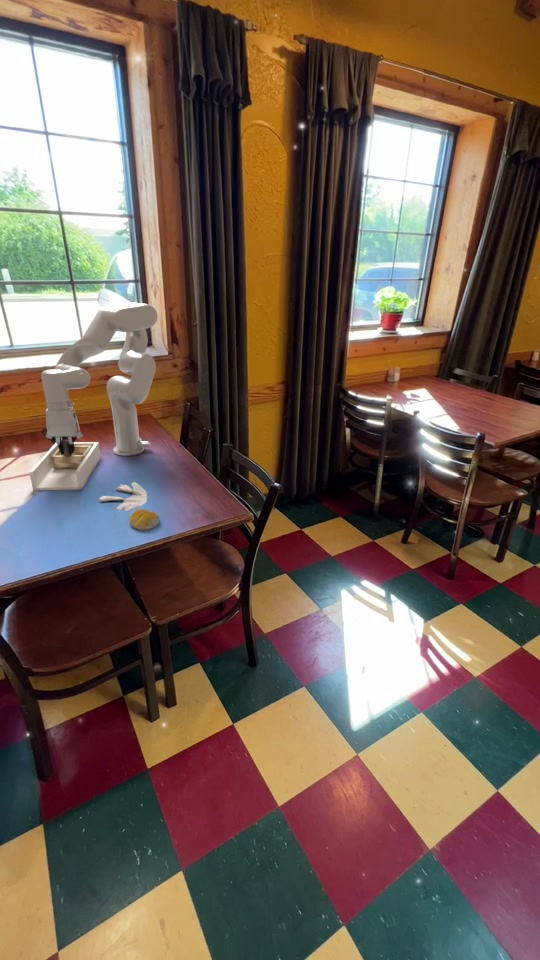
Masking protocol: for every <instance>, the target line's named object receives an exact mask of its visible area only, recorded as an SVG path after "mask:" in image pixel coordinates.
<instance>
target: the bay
mask: <svg viewBox="0 0 540 960" xmlns="http://www.w3.org/2000/svg"><path fill="white" fill-rule="evenodd" d="M90 445H92V448H91V449H90V451H89V452H88V454H87V455H86V457H85V458H84V460H83V461H82V463H81V464H80V465H79V467H78V468H76V469H53V464H52V459H51V456H52V455H53V454H54V453H55V451H56V450H57V449H58V444H56V443H55V444H54V445H53V444H52V446H51V447H50V448H49V449H48V451H47V452H45V454H44V455H43V456H42V457H41V458H40V459H39V461H38V462H37V463H36V464H34V466H33V467H32V468H31V470H29V472H28V473H29V478H30V481H31V487H32V491H65V490H67V491H70V490H73V491H74V490H83V488H84V487H85V485H86V484H87V482H88V481H89V479H90V477H91V476H92V474H93V472H94V470H95V469H96V468H97V466H98V464H99V462H100V461H101V459H102V456H101V455H102V454H101V451H100V449H101V448H100V443H99V441H98V442H97V441H96V442H95V441H94V442H93V441H92V442H91V441H90V442H89V441H88V442H87V441H86V442H83V441H82V442H80V441H79V442H77V441H74V446H90Z"/></svg>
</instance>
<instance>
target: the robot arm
mask: <svg viewBox="0 0 540 960" xmlns="http://www.w3.org/2000/svg"><path fill="white" fill-rule="evenodd" d="M157 321H158V312H157V309H156V308H155V307H154V306H152V305H151V304H148V303H139V302H133V301H131V302H130V301H129V302H124V303H122V304H121V305H120V306H111V305H105V306H102V307H100V308H99V310H98V311H97V313H96V314H95V316H94V318H93V319H92V321H91V322H90V324H89V325H88V328H86V331H85V333H84V334H83V335H82V336H81V338H80V339H78V340H77V341H75V342H74V343H73V344H72V345H70V346H69V347H68V348H67V349H66V350H65V351H64V352H63V353H62V355H61V356H60V358H59V359H58V361H57V363H56V365H55V367H54V368H52V369H51V368H50V369H45V370H43V371H42V372H41V375H40V376H41V382H42V386H43V392H44V398H45V402H46V407H47V408H46V409H45V423H46V428H47V431H46V434H45V435H46V437H47V438H49V439H52V440H53V441H55V442H56V444H58V448H59V452H61V455H63V454H64V450H63V445H62V437H63V436H68V440H69V444H68V448H69V453H70V454H73V452H74V451H75V447H74V442H76V440H78V439H80V438H82V437H83V435H84V434H83V433H82V432H81V430H80V424H79V421H78V417H77V415H76V411H75V408H74V407H73V406H75V402H74V401H72V400H71V399H70V396H69V390H79V389H85V388H87V387H88V385H90V383H91V380H92V379H91V375H90V373H89V372H88V371H87V370H86V369H85V368H82V367H80V365H81V364H82V363H83V362H84V361H85V360H87V359H89V358H91V357H95V356H98V355H99V354H101V353H104V352H105V351H106V349H107V347H108V346H109V344H110V342H111V340H112V339H113V337H114V335H115V334H116V332H119V333H120V332H121V333H125V339H124V343H123V346H122V348H121V353H120V354H119V359H118V363H117V364H118V366H117V367H118V368H119V371H120V372H122V373H124V374H127V375H130V376H131V377H130V376H129V377H128V376H124V375H114V376H112V377H110V378H109V379H108V381H107V382H106V392H107V395H108V398H109V402H110V406H111V412H112V421H113V427H114V429H113V430H114V435H115V443H116V446H114V447H113V449H112V450H113V453H114V454H116V455H117V456H122V457H124V456H125V457H127V456H134V455H135V456H136V455H139V454H141V453H142V452H144V451H145V448H151V447H152V446H151V444H152V443H151V442H149V441H148V440H147V441H145V440H144V441H143V440H142V438H141V437H140V433H139V432H140V431H139V424H138V423H139V421H138V413H137V412H138V411H137V407H136V405H140V404H142V403H143V402H144V401H146V400H147V397H148V395H149V392H150V389H151V386H152V384H153V379H154V378H155V374H156V368H157V367H156V361H155V359H154V357H153V356H152V355H151V354H149V353H146V350H147V347H148V341H149V340H148V339H149V338H148V334H147V330H146V329H150V328H152V327H153V326H155V325H156V323H157ZM46 437H45V438H46ZM47 438H46V439H47ZM49 439H48V440H49Z"/></svg>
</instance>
